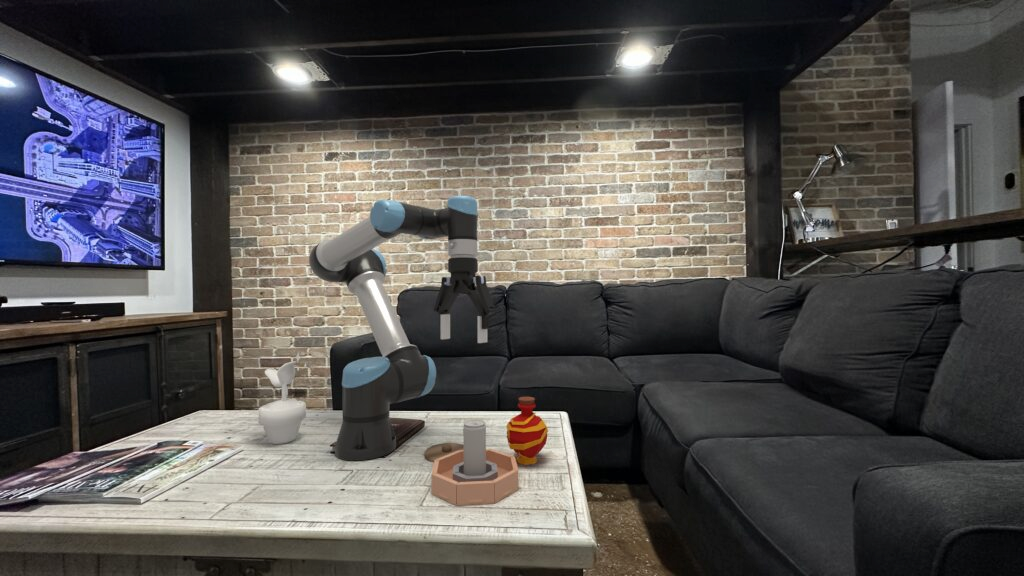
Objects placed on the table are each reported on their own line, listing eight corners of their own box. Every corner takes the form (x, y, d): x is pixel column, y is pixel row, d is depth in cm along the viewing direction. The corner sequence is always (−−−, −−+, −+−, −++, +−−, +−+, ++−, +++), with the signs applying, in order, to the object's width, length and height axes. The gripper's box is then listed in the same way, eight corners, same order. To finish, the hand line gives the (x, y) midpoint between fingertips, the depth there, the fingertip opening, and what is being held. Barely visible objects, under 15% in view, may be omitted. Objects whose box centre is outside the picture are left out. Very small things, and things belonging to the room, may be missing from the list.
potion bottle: (545, 470, 95) (545, 405, 96) (501, 467, 97) (501, 403, 98) (550, 453, 106) (550, 394, 106) (510, 450, 108) (510, 392, 108)
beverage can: (468, 485, 86) (468, 427, 86) (460, 476, 90) (460, 421, 90) (489, 480, 88) (489, 424, 88) (480, 472, 92) (480, 418, 92)
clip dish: (414, 486, 88) (414, 467, 88) (474, 459, 102) (474, 443, 102) (475, 515, 76) (475, 493, 76) (534, 480, 90) (533, 462, 90)
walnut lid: (415, 457, 105) (415, 447, 105) (448, 445, 113) (448, 435, 113) (444, 468, 98) (444, 457, 98) (477, 454, 106) (477, 444, 106)
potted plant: (314, 438, 118) (314, 349, 118) (272, 451, 108) (272, 355, 108) (289, 430, 125) (289, 347, 125) (248, 442, 115) (248, 351, 115)
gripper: (420, 259, 111) (420, 338, 111) (488, 253, 96) (489, 345, 95) (441, 261, 117) (442, 336, 117) (509, 255, 101) (510, 342, 101)
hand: (463, 340), depth 106 cm, fingers open, 13 cm apart
